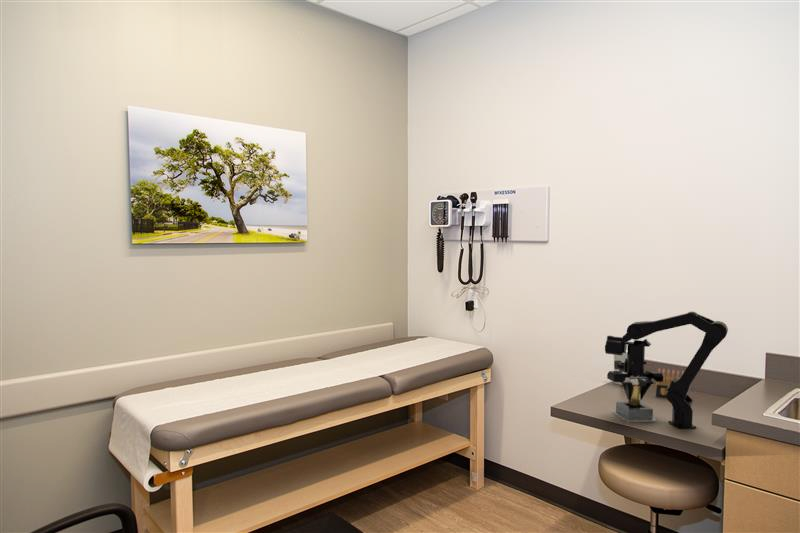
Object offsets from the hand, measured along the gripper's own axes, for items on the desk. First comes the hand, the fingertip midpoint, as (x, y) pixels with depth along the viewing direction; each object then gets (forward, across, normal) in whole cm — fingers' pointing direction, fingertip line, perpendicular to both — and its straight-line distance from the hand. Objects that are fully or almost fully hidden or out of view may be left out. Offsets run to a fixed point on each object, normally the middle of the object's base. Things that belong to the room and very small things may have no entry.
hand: (634, 399), depth 192 cm
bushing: (+2, 0, 0) cm, 2 cm away
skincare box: (+7, -20, -43) cm, 48 cm away
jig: (+6, 0, 0) cm, 6 cm away
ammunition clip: (+7, -28, -22) cm, 36 cm away
